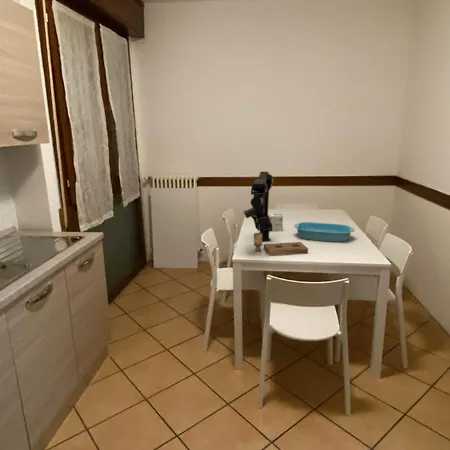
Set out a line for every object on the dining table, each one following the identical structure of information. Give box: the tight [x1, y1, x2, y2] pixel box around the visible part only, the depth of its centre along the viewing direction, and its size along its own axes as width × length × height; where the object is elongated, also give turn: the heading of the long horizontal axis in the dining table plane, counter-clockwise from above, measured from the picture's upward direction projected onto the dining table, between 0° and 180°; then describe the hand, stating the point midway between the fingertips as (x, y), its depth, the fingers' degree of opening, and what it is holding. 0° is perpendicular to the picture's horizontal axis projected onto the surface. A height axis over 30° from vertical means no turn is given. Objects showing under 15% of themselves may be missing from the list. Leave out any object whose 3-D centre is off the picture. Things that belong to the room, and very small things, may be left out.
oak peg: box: [253, 232, 263, 252], centre depth 208 cm, size 5×5×10 cm
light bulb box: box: [268, 213, 284, 232], centre depth 249 cm, size 11×7×11 cm, turn 92°
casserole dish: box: [294, 221, 356, 243], centre depth 232 cm, size 37×22×7 cm, turn 73°
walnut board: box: [263, 241, 309, 257], centre depth 207 cm, size 12×22×3 cm, turn 98°
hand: (258, 230), depth 206 cm, fingers open, 9 cm apart
